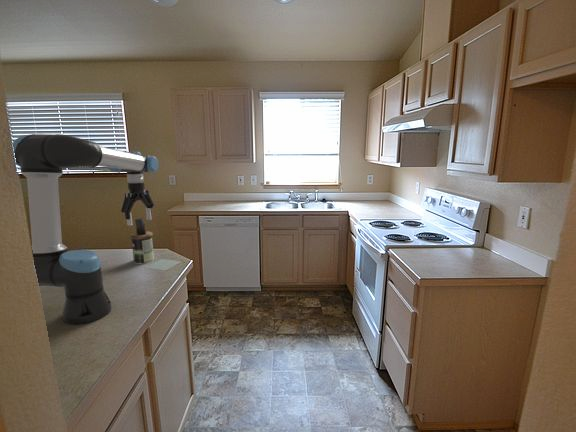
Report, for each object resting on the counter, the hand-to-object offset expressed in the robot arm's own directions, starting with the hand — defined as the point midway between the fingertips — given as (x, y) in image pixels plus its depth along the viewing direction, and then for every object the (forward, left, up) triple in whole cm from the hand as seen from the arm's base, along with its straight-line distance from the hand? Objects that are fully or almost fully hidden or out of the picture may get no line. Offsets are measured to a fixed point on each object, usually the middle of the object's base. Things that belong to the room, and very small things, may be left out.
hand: (139, 222), depth 163 cm
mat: (-2, -14, -22) cm, 26 cm away
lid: (0, 0, -8) cm, 8 cm away
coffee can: (0, 0, -22) cm, 22 cm away
